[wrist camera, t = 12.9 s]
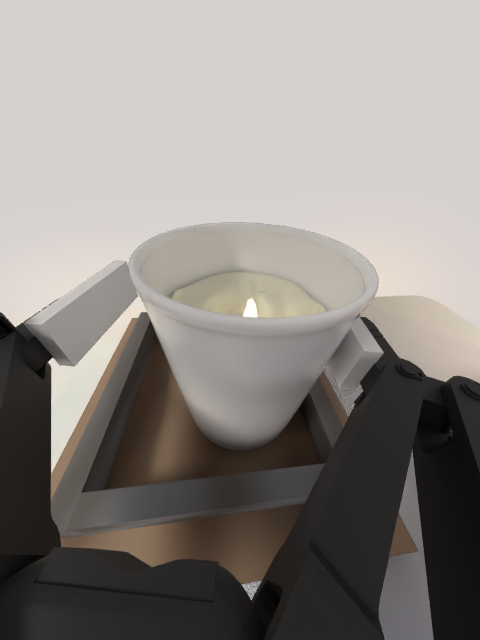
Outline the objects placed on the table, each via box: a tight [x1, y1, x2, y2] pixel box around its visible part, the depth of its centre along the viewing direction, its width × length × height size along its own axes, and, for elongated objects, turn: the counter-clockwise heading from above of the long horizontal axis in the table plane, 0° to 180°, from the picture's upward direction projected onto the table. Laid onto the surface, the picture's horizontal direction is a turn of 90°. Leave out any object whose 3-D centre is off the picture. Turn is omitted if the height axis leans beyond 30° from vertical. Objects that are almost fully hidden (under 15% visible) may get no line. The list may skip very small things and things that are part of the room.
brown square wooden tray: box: [51, 312, 418, 584], centre depth 16 cm, size 20×20×4 cm
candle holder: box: [128, 222, 378, 451], centre depth 12 cm, size 10×10×12 cm
